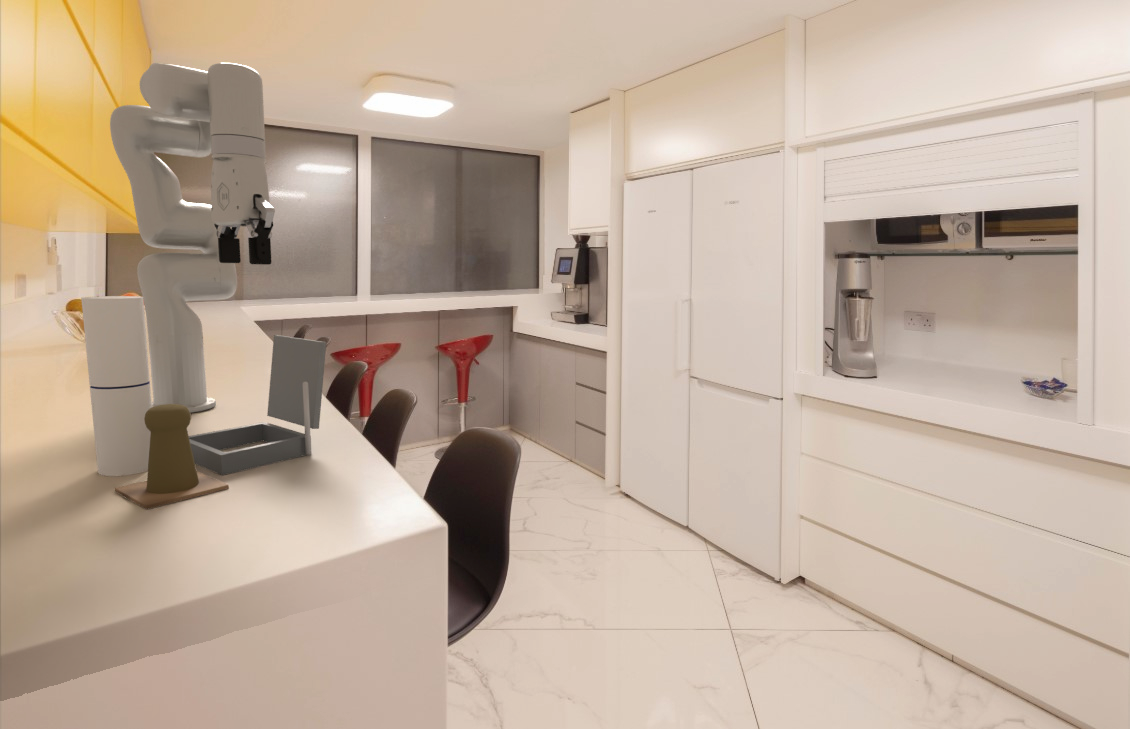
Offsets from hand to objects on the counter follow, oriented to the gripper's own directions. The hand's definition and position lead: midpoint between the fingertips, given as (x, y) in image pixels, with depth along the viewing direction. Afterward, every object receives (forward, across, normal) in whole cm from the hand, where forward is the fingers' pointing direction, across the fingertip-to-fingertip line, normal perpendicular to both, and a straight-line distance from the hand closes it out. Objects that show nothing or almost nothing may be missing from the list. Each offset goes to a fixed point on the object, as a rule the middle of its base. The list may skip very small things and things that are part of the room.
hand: (244, 263), depth 102 cm
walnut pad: (+30, +12, -17) cm, 37 cm away
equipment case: (+30, +4, -3) cm, 30 cm away
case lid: (+19, +4, +5) cm, 20 cm away
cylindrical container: (+30, -2, -18) cm, 35 cm away
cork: (+30, +12, -17) cm, 36 cm away
